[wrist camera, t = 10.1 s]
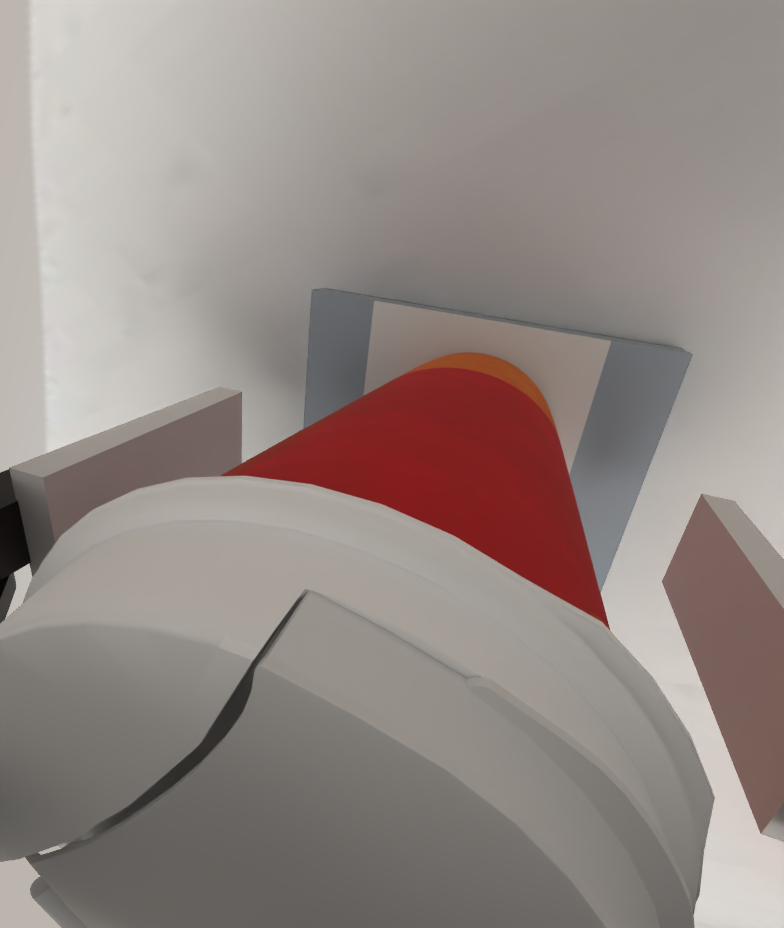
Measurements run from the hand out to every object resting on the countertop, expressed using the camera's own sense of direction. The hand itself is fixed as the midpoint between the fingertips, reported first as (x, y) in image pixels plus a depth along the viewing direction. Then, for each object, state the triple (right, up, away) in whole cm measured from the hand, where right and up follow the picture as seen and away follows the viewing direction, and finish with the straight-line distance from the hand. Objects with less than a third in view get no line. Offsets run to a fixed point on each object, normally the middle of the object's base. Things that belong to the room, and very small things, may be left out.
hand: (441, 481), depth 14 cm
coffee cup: (+1, +2, +4) cm, 5 cm away
